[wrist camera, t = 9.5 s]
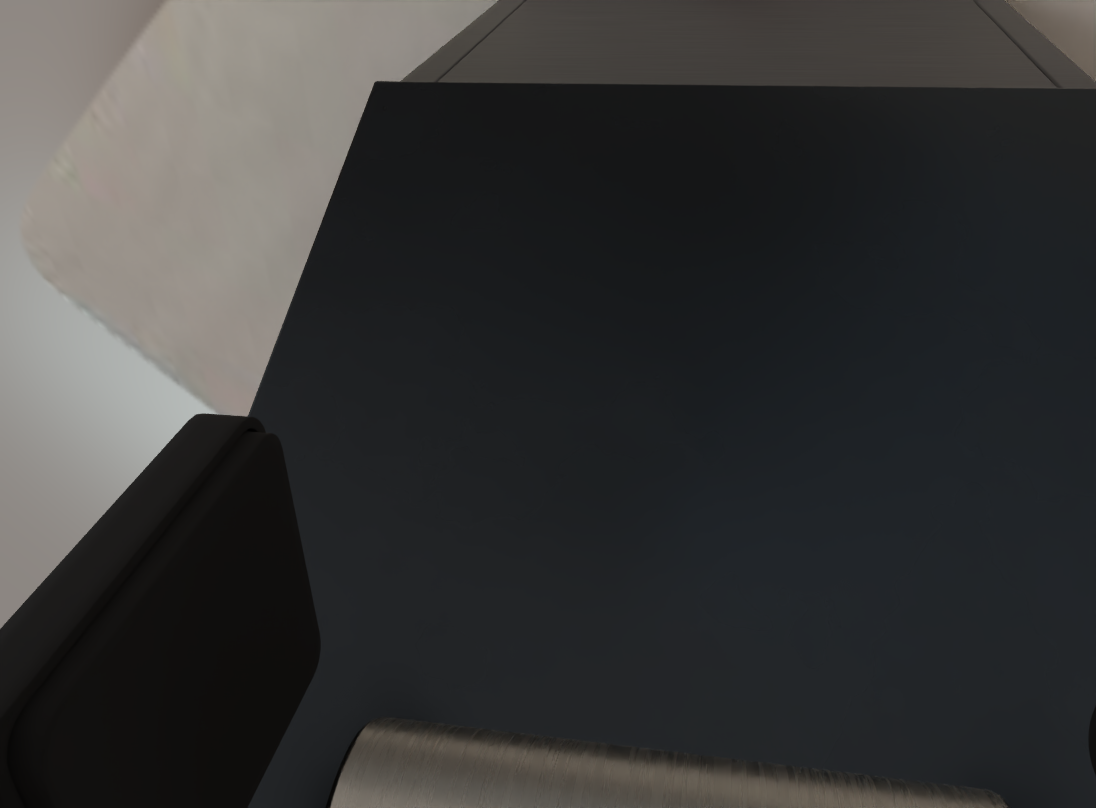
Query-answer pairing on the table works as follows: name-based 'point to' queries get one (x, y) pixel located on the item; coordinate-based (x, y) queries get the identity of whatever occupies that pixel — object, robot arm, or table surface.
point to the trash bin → (754, 44)
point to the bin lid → (697, 450)
